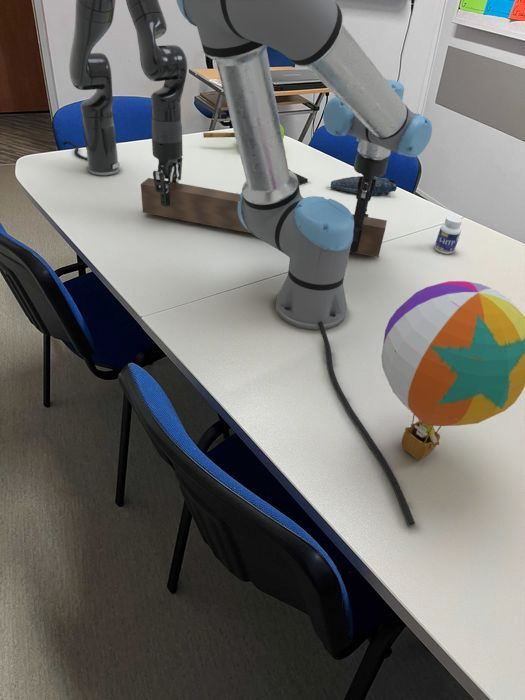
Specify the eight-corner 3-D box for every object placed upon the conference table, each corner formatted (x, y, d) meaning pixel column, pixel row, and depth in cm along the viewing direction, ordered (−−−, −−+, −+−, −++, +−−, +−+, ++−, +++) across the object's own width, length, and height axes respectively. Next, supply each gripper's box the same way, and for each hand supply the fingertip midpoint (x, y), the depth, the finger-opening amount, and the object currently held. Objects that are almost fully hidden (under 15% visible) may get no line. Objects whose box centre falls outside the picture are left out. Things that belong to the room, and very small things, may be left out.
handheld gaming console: (311, 174, 172) (301, 154, 164) (301, 192, 171) (290, 172, 163) (284, 170, 178) (272, 149, 170) (274, 187, 177) (262, 167, 169)
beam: (380, 248, 135) (386, 220, 130) (378, 257, 131) (385, 228, 126) (150, 205, 145) (148, 177, 140) (142, 212, 142) (140, 184, 137)
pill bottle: (433, 251, 139) (442, 220, 133) (435, 243, 143) (444, 213, 137) (453, 256, 138) (464, 225, 132) (454, 247, 142) (465, 217, 136)
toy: (330, 441, 84) (367, 281, 65) (404, 391, 94) (454, 241, 75) (431, 526, 73) (512, 363, 54) (502, 459, 83) (589, 303, 64)
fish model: (395, 199, 165) (399, 183, 162) (329, 192, 166) (332, 176, 163) (393, 191, 171) (397, 176, 168) (330, 185, 172) (332, 169, 169)
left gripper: (164, 127, 136) (167, 190, 146) (140, 142, 125) (145, 209, 135) (191, 131, 135) (192, 194, 145) (169, 147, 124) (172, 214, 134)
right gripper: (360, 141, 127) (343, 229, 142) (352, 163, 113) (333, 258, 128) (391, 146, 126) (371, 234, 141) (386, 169, 112) (364, 264, 126)
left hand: (169, 201), depth 140 cm, fingers closed on beam, 5 cm apart
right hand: (353, 246), depth 134 cm, fingers closed on beam, 5 cm apart
